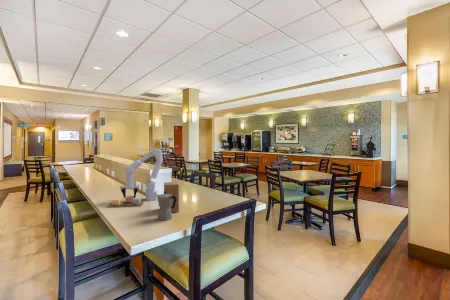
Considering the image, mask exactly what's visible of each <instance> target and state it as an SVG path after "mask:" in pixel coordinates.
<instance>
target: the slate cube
mask: <svg viewBox="0 0 450 300" xmlns="http://www.w3.org/2000/svg"><path fill="white" fill-rule="evenodd" d="M141 201H142V200H141V197H135V198H133V199H132V204H140V203H141Z"/></svg>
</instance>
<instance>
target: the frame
mask: <svg viewBox="0 0 450 300" xmlns="http://www.w3.org/2000/svg"><path fill="white" fill-rule="evenodd" d="M143 204H144V200H141V203H140V204H132V201H128V202H126V201H121V203H120V204H115V205H112V202H110V203H109V204H108V208H110V209H111V208H133V207H142V206H143Z"/></svg>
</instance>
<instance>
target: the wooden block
mask: <svg viewBox="0 0 450 300" xmlns="http://www.w3.org/2000/svg"><path fill="white" fill-rule="evenodd" d="M179 184H180V183H179V182H178V181H168V182H166V181H165V182H164V183H163V192H164V191H166V194H171V195H172V196H175V197H176V198H177V200H176V204H175V207H174V208H171V207H173V203H174V199H172V200H171V205H170V208H171V213H172V214H173V213H179V212H180V205H179V204H180V198H179V196H180V194H179V193H180V187H179V186H180V185H179Z"/></svg>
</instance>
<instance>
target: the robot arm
mask: <svg viewBox="0 0 450 300" xmlns="http://www.w3.org/2000/svg"><path fill="white" fill-rule="evenodd" d="M151 157H154V158H155V160H156V161H155V164H154V166H153V169H152V172H151V174H150V177H149V179H147V182H145V188H146V189H145V201H148V202H150V201H158V197H157V196H156V195H159V191H158V189H156V184H157V183H156V181H157V180H156V179H157V178H158V175H159V171H160V169H161V167H162V164H163V161H164V157H163V152H162V151H161V149H159V148H155V147H154V148H152V149H151V150H149V151H148V152H147V153H145V155H143V156H141V158H140V159H136V160H133V162H132V163H131V164H129V166H126V167H125V169H124V171H125V185H124V186H120V187H119V190H120V192H121V193H122V197H123V198H124V199H126V197H127V195H126V194H127V193H126V192H127V190H133V196H134V198H137V197H136V196H137V193H138V190H139V189H140V186H139V185H134V171H135V170H137V169H139V168H140V167H141V166H142V163H144V162H145V161H146V160H148V159H149V158H151Z"/></svg>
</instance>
